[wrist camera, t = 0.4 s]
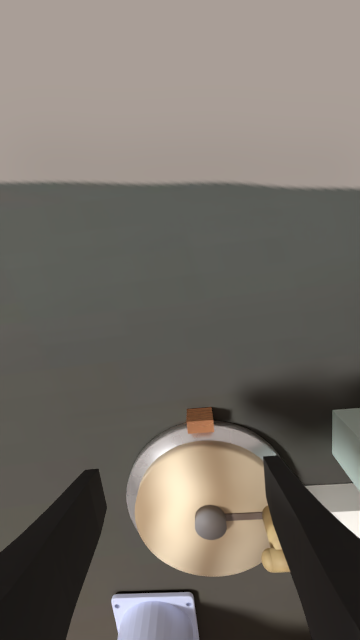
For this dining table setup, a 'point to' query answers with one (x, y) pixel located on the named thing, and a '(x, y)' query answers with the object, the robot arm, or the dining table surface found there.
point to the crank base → (194, 430)
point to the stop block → (347, 441)
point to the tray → (340, 503)
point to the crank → (208, 510)
